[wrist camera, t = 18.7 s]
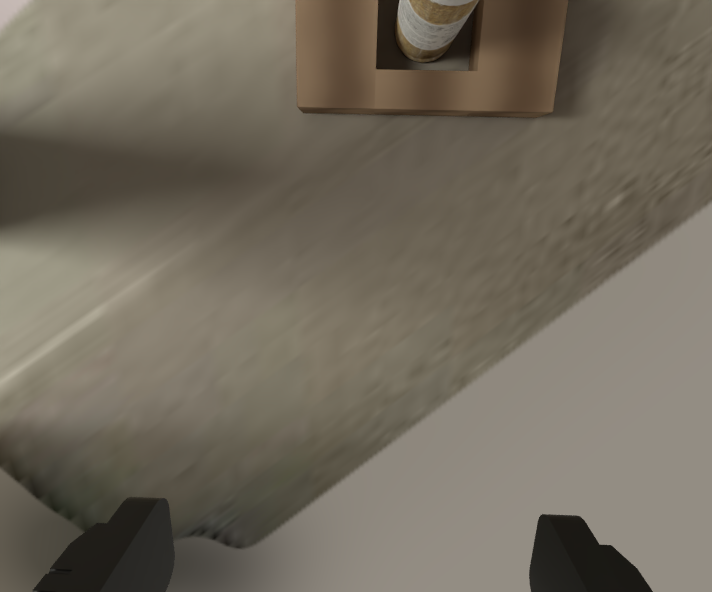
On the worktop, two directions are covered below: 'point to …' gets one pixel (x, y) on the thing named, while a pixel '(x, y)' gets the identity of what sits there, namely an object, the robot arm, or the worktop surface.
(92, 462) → the worktop surface
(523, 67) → the walnut caddy
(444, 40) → the sprinkles bottle
